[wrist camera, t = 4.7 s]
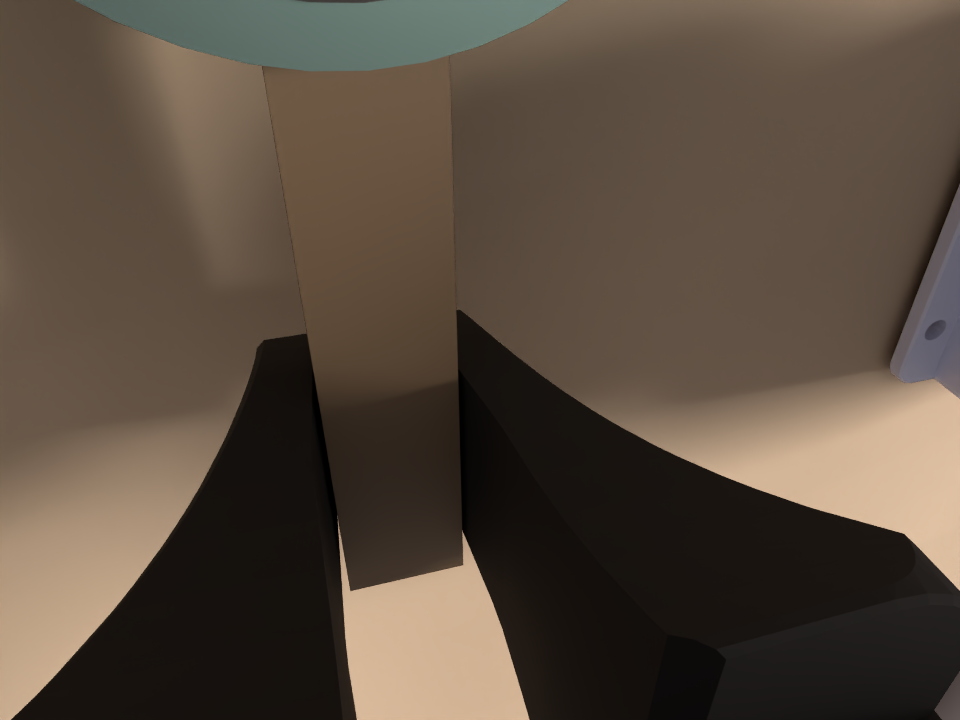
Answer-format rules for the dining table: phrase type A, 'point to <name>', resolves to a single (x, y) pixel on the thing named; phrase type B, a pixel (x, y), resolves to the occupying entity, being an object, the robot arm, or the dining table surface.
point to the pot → (366, 238)
